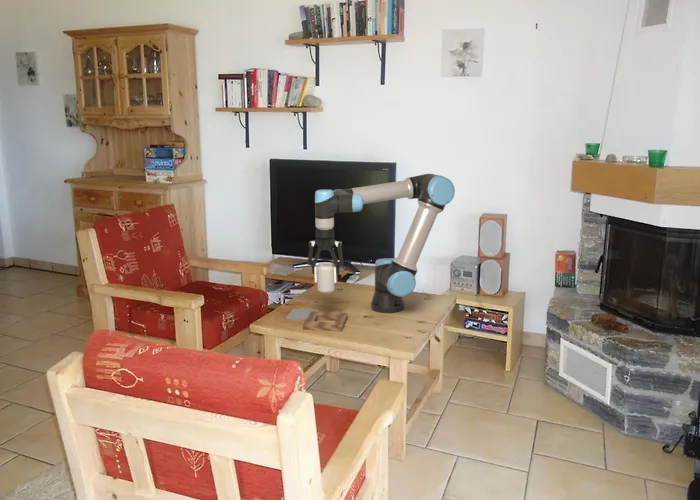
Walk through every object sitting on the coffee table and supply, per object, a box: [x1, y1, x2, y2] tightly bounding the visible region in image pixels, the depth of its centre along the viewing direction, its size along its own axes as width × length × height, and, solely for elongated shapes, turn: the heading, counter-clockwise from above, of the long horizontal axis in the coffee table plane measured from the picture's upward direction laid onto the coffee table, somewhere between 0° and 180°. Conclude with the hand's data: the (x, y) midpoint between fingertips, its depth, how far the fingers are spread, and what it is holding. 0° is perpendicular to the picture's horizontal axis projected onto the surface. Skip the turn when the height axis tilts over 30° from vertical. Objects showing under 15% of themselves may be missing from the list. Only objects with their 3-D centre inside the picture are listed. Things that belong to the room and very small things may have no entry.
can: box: [316, 261, 336, 294], centre depth 246 cm, size 8×8×12 cm
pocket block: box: [302, 311, 349, 332], centre depth 250 cm, size 16×16×2 cm
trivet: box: [286, 308, 320, 321], centre depth 260 cm, size 12×12×1 cm
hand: (326, 281), depth 246 cm, fingers closed on can, 7 cm apart
